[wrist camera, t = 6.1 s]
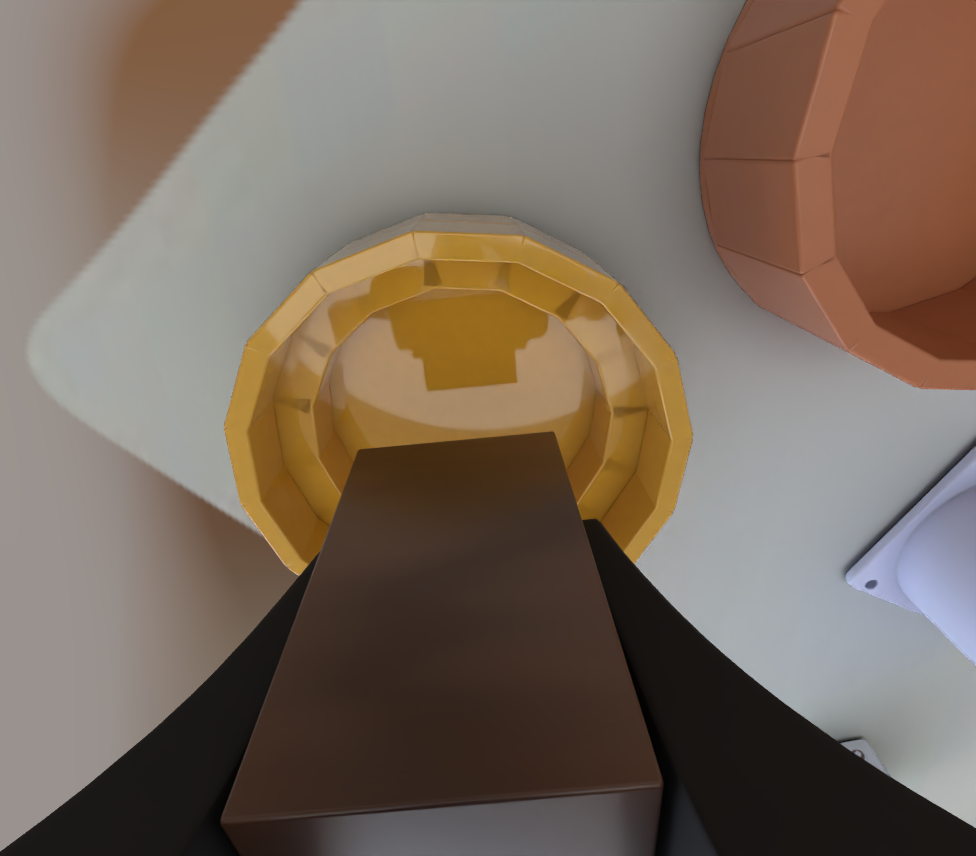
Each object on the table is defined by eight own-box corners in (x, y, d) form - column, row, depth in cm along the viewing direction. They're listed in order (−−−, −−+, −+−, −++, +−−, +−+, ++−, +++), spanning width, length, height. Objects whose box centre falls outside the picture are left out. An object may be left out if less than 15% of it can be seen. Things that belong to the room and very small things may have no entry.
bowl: (712, 315, 17) (787, 365, 13) (538, 575, 22) (554, 669, 18) (348, 132, 14) (301, 124, 10) (245, 478, 19) (187, 563, 15)
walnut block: (554, 429, 11) (666, 785, 5) (559, 578, 13) (643, 965, 7) (357, 448, 11) (215, 823, 5) (391, 593, 13) (322, 992, 7)
